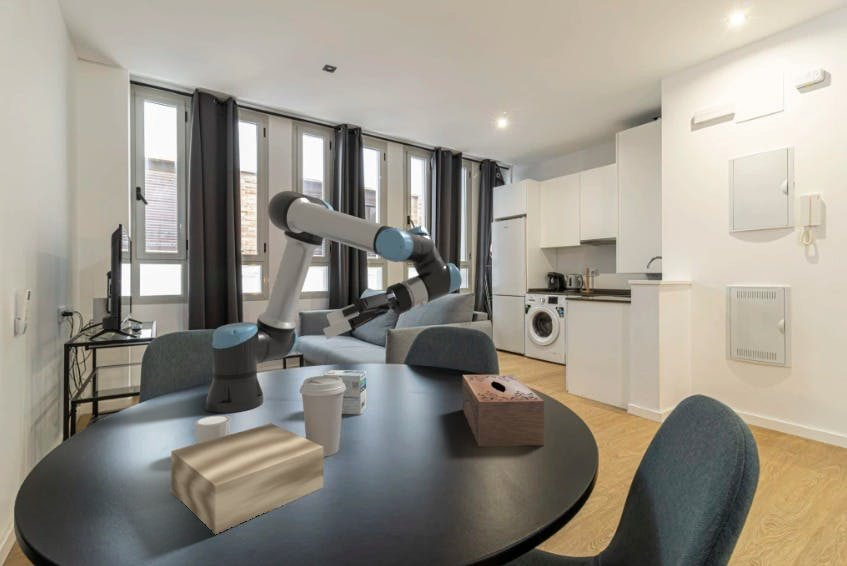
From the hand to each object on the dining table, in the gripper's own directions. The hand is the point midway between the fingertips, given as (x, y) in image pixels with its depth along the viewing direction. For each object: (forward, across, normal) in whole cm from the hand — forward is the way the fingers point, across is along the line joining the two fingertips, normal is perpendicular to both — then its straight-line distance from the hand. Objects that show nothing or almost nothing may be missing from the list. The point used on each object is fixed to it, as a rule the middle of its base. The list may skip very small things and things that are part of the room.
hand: (326, 327), depth 94 cm
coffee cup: (+11, 0, -24) cm, 27 cm away
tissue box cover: (-29, +3, -39) cm, 49 cm away
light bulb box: (+1, +25, -19) cm, 31 cm away
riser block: (+25, -12, -24) cm, 36 cm away
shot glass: (+31, +5, -15) cm, 35 cm away
